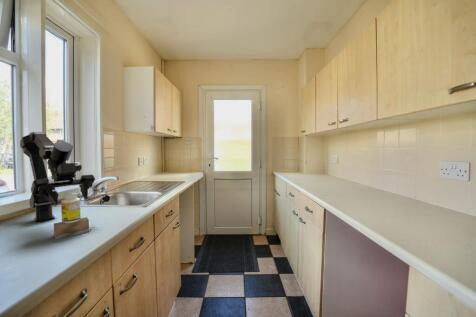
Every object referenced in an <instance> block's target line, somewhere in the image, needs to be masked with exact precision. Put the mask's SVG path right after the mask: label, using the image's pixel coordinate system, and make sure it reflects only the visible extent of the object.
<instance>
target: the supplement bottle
mask: <svg viewBox="0 0 476 317" xmlns="http://www.w3.org/2000/svg"><path fill="white" fill-rule="evenodd" d="M60 205H61V206H60V208H61V211H60V212H61V222H63V223H73V222H76V221H79V220H80V218H82V217H81V199H80V198H79V197H78V193H77V192H68V193H64V194H63V199H61V200H60Z"/></svg>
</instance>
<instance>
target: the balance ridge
mask: <svg viewBox="0 0 476 317" xmlns="http://www.w3.org/2000/svg"><path fill="white" fill-rule="evenodd" d="M90 230H91V229H90V221H89V219H88V217H87V216H86V217H81V218H80V220H79V221H76V222H73V223H63V222H62V221H61V222H60V221H59V222H55V223H53V236H54V239H55V240H58V239H63V238H68V237H72V236H77V235H80V234H86V233H89V232H90Z"/></svg>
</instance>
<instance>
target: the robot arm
mask: <svg viewBox="0 0 476 317" xmlns="http://www.w3.org/2000/svg"><path fill="white" fill-rule="evenodd" d="M19 147H20V149H22V153H23V154H24V155H25V156H26V157H28V159H29V162H30V168H31V171H32V176H33V181H32V183H31V187H30V191H31V195H30V198H29V201H28V202H29V203H28V204H29V207H30V208H32V209H35V210H34V211H35V217H34V222H35V223H37V222H43V221H48V220H49V221H50V220H54V219H55V216H54V214H53V205H55V206H57V205H58V202H59V193H58V191H57V190H56V188H60V187H61V188H63V187H64V188H65V187H73V186H74V187H75V186H79V188H80V189H79V190H80V193H81V195H82V197H83V199H84V200H87V199H88V196H89V195H88V194H89V192H88V191H89V189H91V188H92V187H93V184H94V183H95V180H96V177H95V176H94V174H82V175H81V176H80V178H78V179H74V178H75V177H76V173H77V172H80V171H82V169H83V167H82V164H81V162H80V161H76V162H67V161H69V160H70V157H71V155H72V152H73V149H74V145H73V144H71V143H70V142H68V141H65V140H64V139H57V140H56V141H55V142H53V141H52V140H51V139H50V138H49V137H48V136H47V133H45V132H41V131H32V132H30V133H29V134H26V135H25V136H22V137H21V139H20V142H19ZM44 160H47V162H46V164H47V169H48V170H49V172H50V175H51V180H52V181H50V179H49V178H48V175H47V169H46V166H45V162H44Z"/></svg>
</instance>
